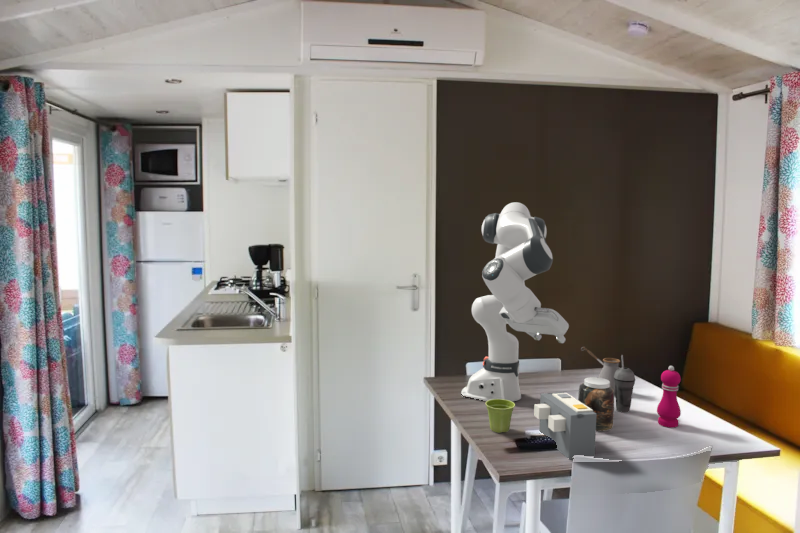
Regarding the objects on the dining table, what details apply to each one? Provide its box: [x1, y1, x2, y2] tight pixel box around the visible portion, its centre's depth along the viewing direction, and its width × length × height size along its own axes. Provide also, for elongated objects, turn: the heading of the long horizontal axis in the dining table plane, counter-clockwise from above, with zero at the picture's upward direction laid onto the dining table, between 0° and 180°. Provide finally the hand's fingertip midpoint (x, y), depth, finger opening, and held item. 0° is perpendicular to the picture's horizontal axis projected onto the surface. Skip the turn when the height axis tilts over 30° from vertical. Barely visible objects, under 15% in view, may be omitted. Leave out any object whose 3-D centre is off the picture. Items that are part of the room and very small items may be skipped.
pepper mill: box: [656, 365, 682, 429], centre depth 199 cm, size 7×7×20 cm
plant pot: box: [485, 399, 516, 434], centre depth 194 cm, size 9×9×9 cm
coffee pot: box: [580, 346, 621, 392], centre depth 238 cm, size 21×12×15 cm, turn 28°
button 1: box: [533, 403, 551, 421], centre depth 185 cm, size 5×4×4 cm
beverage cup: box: [614, 354, 636, 414], centre depth 212 cm, size 7×7×20 cm
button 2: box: [548, 415, 566, 432], centre depth 176 cm, size 5×4×4 cm
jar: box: [577, 376, 615, 432], centre depth 199 cm, size 12×12×15 cm
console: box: [538, 391, 597, 460], centre depth 182 cm, size 8×20×14 cm, turn 12°
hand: (550, 340), depth 173 cm, fingers open, 8 cm apart
